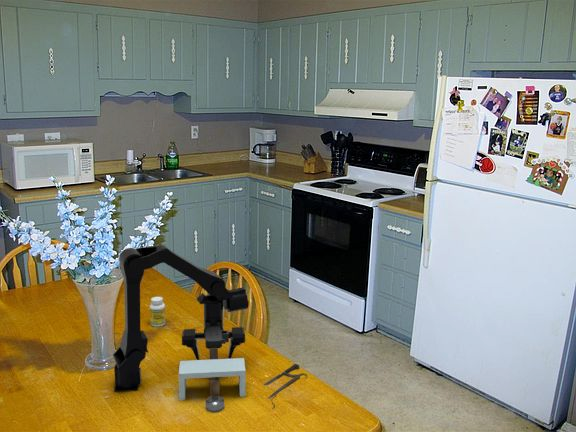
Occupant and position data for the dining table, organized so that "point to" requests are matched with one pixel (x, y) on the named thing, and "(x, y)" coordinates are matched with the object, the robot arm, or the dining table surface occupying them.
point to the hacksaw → (287, 382)
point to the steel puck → (214, 403)
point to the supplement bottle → (157, 312)
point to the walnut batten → (214, 380)
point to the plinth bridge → (211, 371)
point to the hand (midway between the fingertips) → (213, 361)
